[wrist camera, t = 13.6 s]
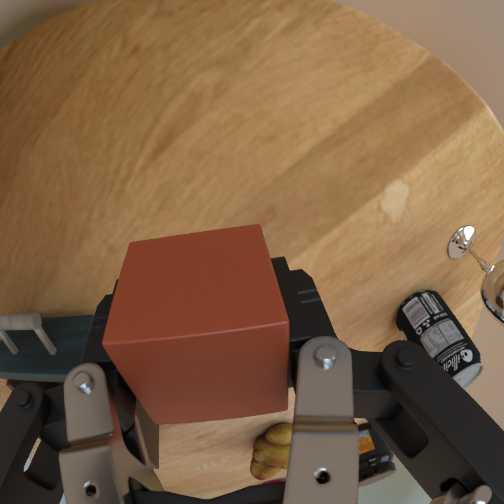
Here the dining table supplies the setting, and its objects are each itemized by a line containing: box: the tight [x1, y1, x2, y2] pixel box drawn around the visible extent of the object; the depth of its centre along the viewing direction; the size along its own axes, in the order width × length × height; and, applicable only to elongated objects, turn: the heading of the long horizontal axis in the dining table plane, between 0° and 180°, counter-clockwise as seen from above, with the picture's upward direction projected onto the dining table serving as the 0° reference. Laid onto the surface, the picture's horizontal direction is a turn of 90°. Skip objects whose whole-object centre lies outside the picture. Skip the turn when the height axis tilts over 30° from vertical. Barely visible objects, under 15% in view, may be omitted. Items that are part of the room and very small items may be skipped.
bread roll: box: [250, 423, 292, 480], centre depth 48 cm, size 13×10×8 cm
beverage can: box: [396, 290, 483, 389], centre depth 31 cm, size 7×7×12 cm
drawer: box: [0, 312, 94, 391], centre depth 28 cm, size 18×11×7 cm, turn 3°
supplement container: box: [358, 423, 396, 487], centre depth 53 cm, size 10×10×12 cm
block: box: [102, 224, 289, 424], centre depth 9 cm, size 4×4×4 cm
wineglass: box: [448, 226, 504, 326], centre depth 26 cm, size 6×6×12 cm
